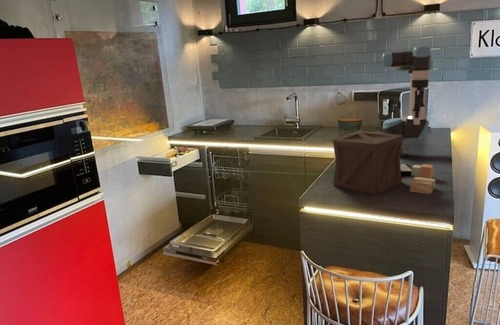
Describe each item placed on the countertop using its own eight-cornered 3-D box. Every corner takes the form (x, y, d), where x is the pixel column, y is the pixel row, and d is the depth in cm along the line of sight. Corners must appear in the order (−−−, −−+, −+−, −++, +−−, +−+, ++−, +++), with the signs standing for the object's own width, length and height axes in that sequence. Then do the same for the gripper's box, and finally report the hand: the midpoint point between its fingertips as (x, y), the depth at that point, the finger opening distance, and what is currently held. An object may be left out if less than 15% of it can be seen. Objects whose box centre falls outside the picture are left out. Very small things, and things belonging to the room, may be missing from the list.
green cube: (413, 173, 210) (414, 164, 208) (423, 174, 207) (424, 165, 205) (411, 175, 206) (411, 167, 204) (421, 177, 203) (421, 168, 201)
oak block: (415, 186, 191) (415, 176, 190) (434, 189, 185) (435, 179, 184) (409, 191, 184) (410, 181, 183) (429, 194, 179) (430, 184, 177)
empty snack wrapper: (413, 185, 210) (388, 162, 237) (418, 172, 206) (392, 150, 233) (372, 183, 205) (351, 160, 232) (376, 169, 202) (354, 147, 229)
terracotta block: (422, 176, 203) (423, 164, 201) (432, 178, 200) (433, 165, 198) (419, 179, 200) (420, 166, 198) (430, 180, 197) (430, 167, 195)
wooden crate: (359, 174, 215) (358, 130, 208) (402, 182, 197) (403, 134, 190) (333, 186, 199) (332, 139, 192) (377, 196, 181) (378, 144, 174)
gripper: (414, 77, 200) (413, 117, 205) (408, 81, 179) (406, 126, 184) (430, 76, 196) (428, 117, 202) (426, 81, 175) (423, 126, 181)
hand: (418, 121), depth 193 cm, fingers open, 13 cm apart
